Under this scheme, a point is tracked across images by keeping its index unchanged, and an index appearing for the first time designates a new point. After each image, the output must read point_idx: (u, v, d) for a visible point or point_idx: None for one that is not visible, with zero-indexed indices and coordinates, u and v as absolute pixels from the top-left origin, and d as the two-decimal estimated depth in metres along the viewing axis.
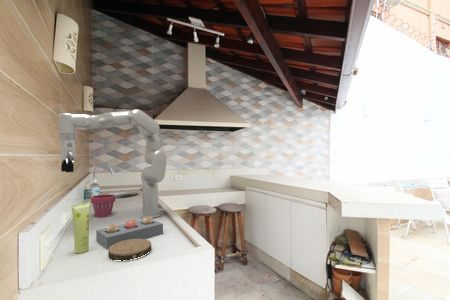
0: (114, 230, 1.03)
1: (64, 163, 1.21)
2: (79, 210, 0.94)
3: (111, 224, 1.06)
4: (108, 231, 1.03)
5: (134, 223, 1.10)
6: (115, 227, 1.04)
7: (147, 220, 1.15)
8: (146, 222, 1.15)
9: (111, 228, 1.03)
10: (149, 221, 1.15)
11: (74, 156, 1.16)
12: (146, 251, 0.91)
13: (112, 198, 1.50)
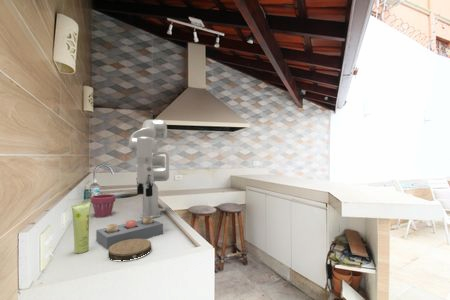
0: (114, 230, 1.03)
1: (140, 186, 1.20)
2: (79, 210, 0.94)
3: (111, 224, 1.06)
4: (108, 231, 1.03)
5: (134, 223, 1.10)
6: (115, 227, 1.04)
7: (147, 220, 1.15)
8: (146, 222, 1.15)
9: (111, 228, 1.03)
10: (149, 221, 1.15)
11: None
12: (146, 251, 0.91)
13: (112, 198, 1.50)
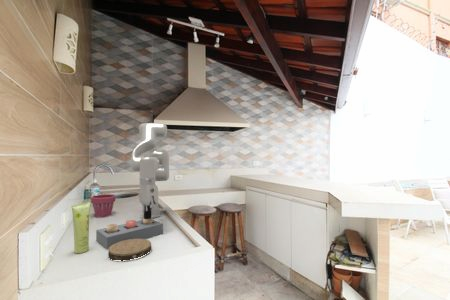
0: (114, 230, 1.03)
1: None
2: (79, 210, 0.94)
3: (111, 224, 1.06)
4: (108, 231, 1.03)
5: (134, 223, 1.10)
6: (115, 227, 1.04)
7: (147, 221, 1.15)
8: (146, 222, 1.15)
9: (111, 228, 1.03)
10: (148, 221, 1.15)
11: (156, 201, 1.15)
12: (146, 251, 0.91)
13: (112, 198, 1.50)
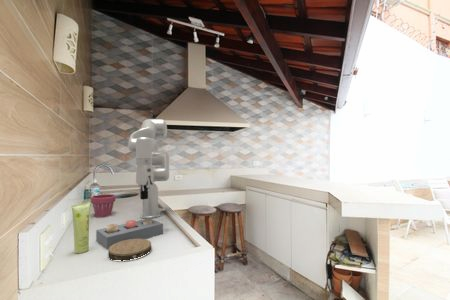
0: (114, 230, 1.03)
1: None
2: (79, 210, 0.94)
3: (111, 224, 1.06)
4: (108, 231, 1.03)
5: (134, 223, 1.10)
6: (115, 227, 1.04)
7: (147, 224, 1.15)
8: None
9: (111, 228, 1.03)
10: None
11: (152, 181, 1.14)
12: (146, 251, 0.91)
13: (112, 198, 1.50)
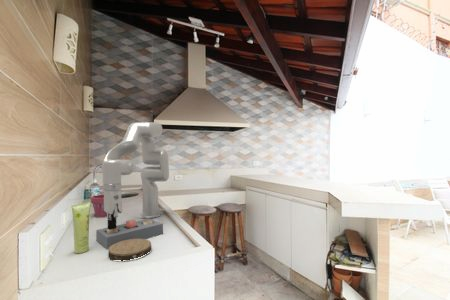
0: None
1: None
2: (79, 210, 0.94)
3: None
4: None
5: (134, 223, 1.10)
6: (115, 230, 1.04)
7: (147, 224, 1.15)
8: None
9: (111, 231, 1.03)
10: None
11: (120, 209, 1.03)
12: (146, 251, 0.91)
13: None
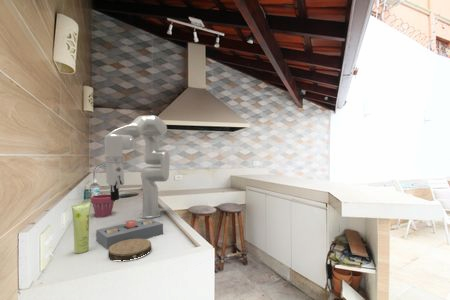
0: None
1: None
2: (79, 210, 0.94)
3: (111, 229, 1.06)
4: None
5: (134, 223, 1.10)
6: None
7: (147, 224, 1.15)
8: None
9: None
10: None
11: (123, 181, 1.07)
12: (146, 251, 0.91)
13: None
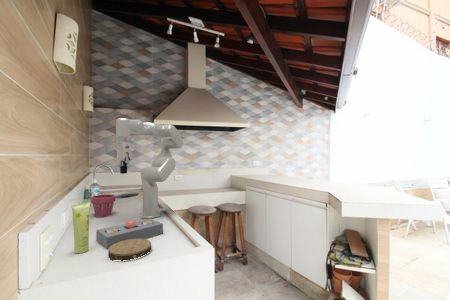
0: None
1: None
2: (79, 210, 0.94)
3: (111, 229, 1.06)
4: None
5: (134, 223, 1.10)
6: None
7: (147, 224, 1.15)
8: None
9: None
10: None
11: (131, 157, 1.28)
12: (146, 251, 0.91)
13: (112, 198, 1.50)
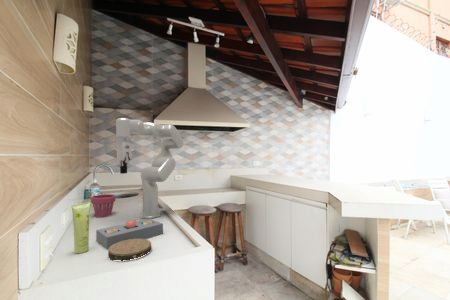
0: None
1: None
2: (79, 210, 0.94)
3: (111, 229, 1.06)
4: None
5: (134, 223, 1.10)
6: None
7: (147, 224, 1.15)
8: None
9: None
10: None
11: (131, 157, 1.28)
12: (146, 251, 0.91)
13: (112, 198, 1.50)
